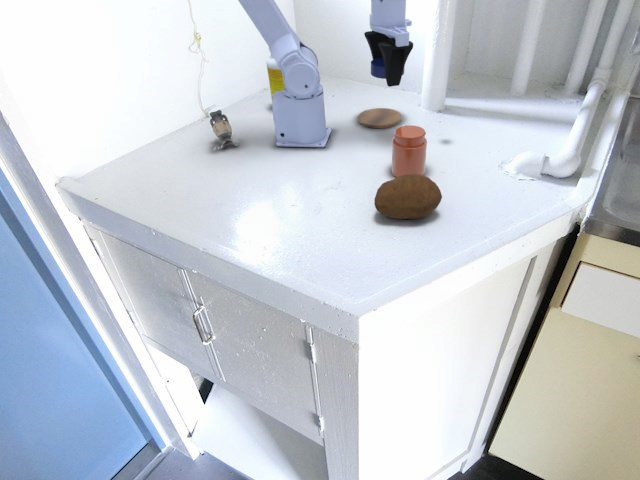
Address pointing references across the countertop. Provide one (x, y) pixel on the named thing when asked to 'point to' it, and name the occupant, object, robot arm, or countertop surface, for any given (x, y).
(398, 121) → the coaster
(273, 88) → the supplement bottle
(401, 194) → the potato
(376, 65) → the lid
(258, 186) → the countertop surface
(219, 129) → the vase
